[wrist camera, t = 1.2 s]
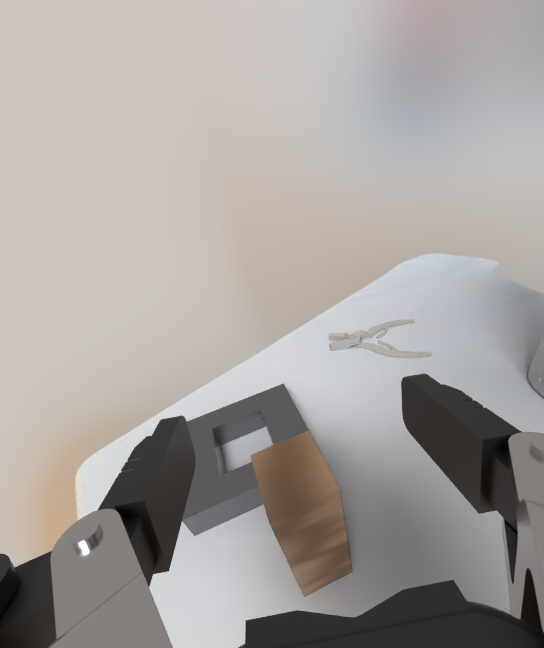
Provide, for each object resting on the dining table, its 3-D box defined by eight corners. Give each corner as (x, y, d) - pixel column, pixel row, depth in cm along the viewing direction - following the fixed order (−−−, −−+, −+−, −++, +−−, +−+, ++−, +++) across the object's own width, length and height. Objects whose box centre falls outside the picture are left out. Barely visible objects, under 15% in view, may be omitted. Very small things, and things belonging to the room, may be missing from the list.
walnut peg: (327, 517, 28) (308, 430, 20) (352, 571, 24) (340, 489, 17) (285, 537, 27) (250, 455, 20) (304, 596, 23) (269, 523, 16)
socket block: (287, 400, 41) (283, 383, 39) (325, 475, 31) (322, 457, 29) (187, 441, 39) (178, 425, 37) (194, 535, 29) (181, 520, 27)
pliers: (432, 350, 42) (330, 357, 45) (431, 358, 43) (331, 365, 46) (413, 314, 50) (327, 323, 53) (412, 322, 51) (328, 330, 54)
